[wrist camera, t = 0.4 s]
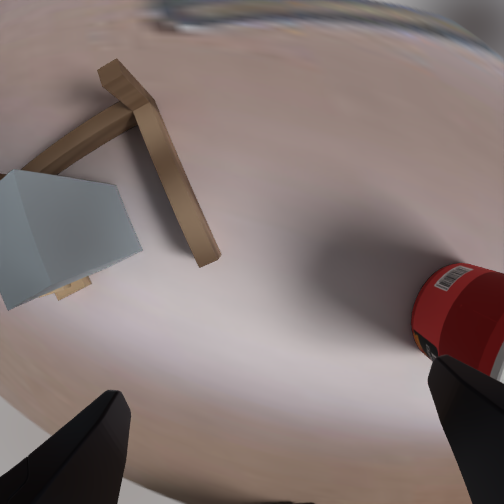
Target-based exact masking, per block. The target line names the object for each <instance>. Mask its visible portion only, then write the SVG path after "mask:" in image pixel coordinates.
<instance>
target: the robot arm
mask: <svg viewBox="0 0 504 504" xmlns="http://www.w3.org/2000/svg"><path fill="white" fill-rule="evenodd" d="M428 385H429V388H430V391H431V394H432V397H433V400H434V403H435V406H436V410H437V413H438V416H439V419H440V422H441V425H442V427H443V430H444V432H445V434H446V437H447V439H448V441H449V444H450V446H451V449H452V451H453V453H454V456H455V458H456V461H457V463H458V466H459V469H460V471H461V474H462V476H463V479H464V482H465V484H466V487H467V490H468V493H469V495H470V498H471V501H472V504H504V383H502V382H500V381H498V380H496V379H494V378H492V377H490V376H488V375H486V374H484V373H482V372H480V371H478V370H476V369H475V368H473V367H471V366H469V365H467V364H465V363H463V362H461V361H459V360H457V359H455V358H453V357H451V356H449V355H442V356H438V357H435V359H434V360H433V363H432V366H431V369H430V372H429V376H428ZM130 420H131V411H130V408H129V406H128V404H127V402H126V400H125V398H124V396H123V394H122V392H120V391H118V390H107V391H105V392H104V393H103V394H102V395H100V396H99V397H98V398H97V399H96V400H94V401H93V402H92V403H91V404H90V405H88V406H87V407H86V408H85V409H84V410H82V411H81V412H80V413H79V414H78V415H76V416H75V417H74V418H73V419H72V420H70V421H69V422H68V423H67V424H66V425H64V426H63V427H62V428H61V429H60V430H58V431H57V432H56V433H55V434H54V435H52V436H51V437H50V438H49V439H48V440H46V441H45V442H44V443H43V444H42V445H40V446H39V447H38V448H37V449H35V450H34V451H33V452H32V453H31V454H30V455H29V456H28V457H26V458H24V459H23V460H22V461H21V462H20V463H18V464H17V465H16V466H14V467H13V468H12V469H11V470H9V471H8V472H7V473H5V474H4V475H2V476H1V477H0V504H117V502H118V496H119V492H120V487H121V482H122V477H123V472H124V468H125V463H126V457H127V447H128V438H129V429H130Z"/></svg>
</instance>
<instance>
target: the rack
mask: <svg viewBox="0 0 504 504" xmlns="http://www.w3.org/2000/svg"><path fill="white" fill-rule="evenodd" d="M97 71H98V74H99V78H100V81H101V84H102V87H104V88H105V89H106V90H107V91H109V92H110V93H111V94H112V95H114V96H115V97H116V98H117V99H119V100H120V101H119V102H117V103H115V104H114V105H112V106H110V107H109V108H107V109H105V110H104V111H102V112H100V113H99V114H97V115H96V116H94V117H92V118H91V119H89V120H88V121H86V122H85V123H83V124H82V125H80V126H79V127H77V128H76V129H74V130H73V131H71V132H70V133H68V134H67V135H65V136H64V137H63V138H61V139H60V140H58V141H57V142H56V143H54V144H53V145H52V146H50V147H49V148H48V149H46V150H45V151H44V152H42V153H41V154H40V155H38V156H37V157H36V158H34V159H33V160H32V161H31V162H29V163H28V164H27V165H26V166H24V167H23V168H22V169H21V170H23V171H30V172H37V173H44V174H50V175H57V174H59V173H60V172H62V171H63V170H64V169H66V168H67V167H69V166H70V165H72V164H73V163H75V162H76V161H78V160H79V159H81V158H82V157H84V156H86V155H87V154H89V153H90V152H92V151H93V150H95V149H97V148H98V147H100V146H101V145H103V144H105V143H106V142H108V141H110V140H111V139H113V138H115V137H117V136H118V135H120V134H122V133H123V132H125V131H127V130H129V129H131V128H132V127H134V126H136V125H138V126H139V128H140V131H141V133H142V136H143V138H144V141H145V144H146V146H147V149H148V151H149V153H150V156H151V158H152V161H153V163H154V166H155V168H156V171H157V173H158V175H159V178H160V180H161V183H162V185H163V187H164V190H165V192H166V194H167V197H168V199H169V201H170V204H171V206H172V208H173V211H174V213H175V215H176V218H177V220H178V222H179V224H180V227H181V229H182V231H183V233H184V236H185V238H186V240H187V242H188V244H189V247H190V249H191V251H192V253H193V255H194V258H195V260H196V262H197V264H198V266H199V268H201V267H203V266H205V265H207V264H210V263H212V262H214V261H216V260H218V259H219V257H220V256H221V252H220V250H219V248H218V246H217V244H216V241H215V239H214V237H213V235H212V233H211V230H210V228H209V226H208V224H207V221H206V219H205V217H204V215H203V212H202V210H201V208H200V206H199V203H198V201H197V199H196V197H195V194H194V192H193V190H192V187H191V185H190V183H189V181H188V178H187V176H186V174H185V171H184V169H183V167H182V164H181V162H180V160H179V157H178V155H177V153H176V150H175V148H174V146H173V143H172V141H171V139H170V136H169V134H168V131H167V129H166V127H165V124H164V122H163V119H162V117H161V115H160V112H159V110H158V107H157V105H156V103H155V100H154V99H153V98H152V96H151V95H150V94H149V93H148V92H147V91H146V90H145V89H144V88H143V86H142V85H141V84H140V83H139V82H138V81H137V80H136V79H135V78H134V77H133V75H132V74H131V73H130V72H129V71H128V70H127V69H126V68H125V67H124V66H123V65H122V63H121V62H120V61H119V60H118V59H115V60H113V61H111V62H110V63H108V64H106V65H105V66H103V67H101V68H100V69H98V70H97ZM5 176H6V174H0V180H2V179H3V178H4V177H5Z"/></svg>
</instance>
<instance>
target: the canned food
mask: <svg viewBox="0 0 504 504" xmlns="http://www.w3.org/2000/svg"><path fill="white" fill-rule="evenodd" d="M411 326H412V333H413V336H414V339H415V342H416V344H417V346H418V347H419V349H420V350H421V351H422V352H423V353H424V354H425V355H426V356H427V357H428V358H429V359H430V360H432V361H433V360H434V359H435V357H438V356H442V355H449V356H451V357H453V358H455V359H457V360H459V361H461V362H463V363H465V364H467V365H469V366H471V367H473V368H475V369H476V370H478V371H480V372H482V373H484V374H486V375H488V376H490V377H492V378H494V379H496V380H498V381H500V382H502V383H504V274H503V273H500V272H496V271H492V270H489V269H485V268H482V267H478V266H474V265H471V264H466V263H457V264H452V265H448V266H446V267H443V268H441V269H440V270H438V271H437V272H435V273H434V274H433V275H432V276H431V277H430V278H429V279H428V280H427V281H426V283H425V284H424V285H423V287H422V288H421V290H420V292H419V294H418V296H417V298H416V301H415V303H414V307H413V311H412V319H411Z"/></svg>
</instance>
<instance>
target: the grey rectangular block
mask: <svg viewBox="0 0 504 504" xmlns="http://www.w3.org/2000/svg"><path fill="white" fill-rule="evenodd" d="M142 250H143V249H142V247H141V245H140V242H139V240H138V238H137V235H136V233H135V231H134V228H133V226H132V224H131V221H130V219H129V217H128V214H127V212H126V209H125V207H124V204H123V202H122V199H121V197H120V194H119V192H118V189H117V187H116V185H111V184H106V183H100V182H94V181H88V180H82V179H76V178H70V177H63V176H57V175H50V174H44V173H37V172H30V171H23V170H16V169H13V170H12V171H11V172H9V173H8V174H7V175H6V176H5V177H4V178H3V179H2V180H0V293H1V295H2V298H3V300H4V303H5V305H6V307H7V310H11V309H13V308H15V307H17V306H19V305H22V304H24V303H26V302H28V301H31V300H33V299H35V298H37V297H40V296H42V295H44V294H47V293H49V292H51V291H53V290H56V289H58V288H60V287H63V286H65V285H67V284H70V283H72V282H75V281H77V280H79V279H82V278H84V277H86V276H89V275H91V274H94V273H96V272H98V271H101V270H103V269H106V268H108V267H110V266H112V265H114V264H116V263H118V262H120V261H122V260H124V259H126V258H128V257H130V256H132V255H134V254H136V253H138V252H140V251H142Z"/></svg>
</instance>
